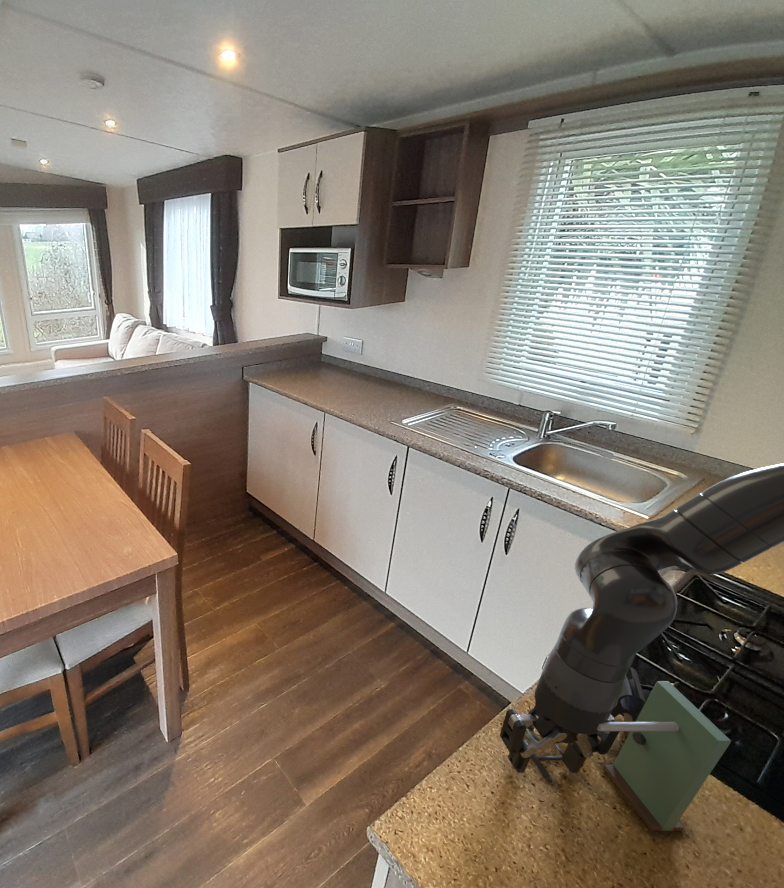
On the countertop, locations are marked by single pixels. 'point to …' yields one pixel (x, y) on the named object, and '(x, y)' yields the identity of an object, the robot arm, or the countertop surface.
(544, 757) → the hanger
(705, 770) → the door panel
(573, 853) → the countertop surface
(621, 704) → the phone stand
